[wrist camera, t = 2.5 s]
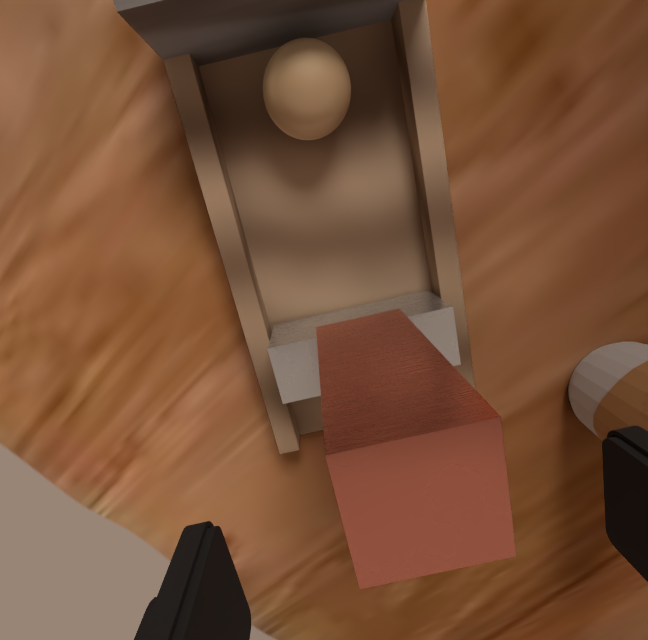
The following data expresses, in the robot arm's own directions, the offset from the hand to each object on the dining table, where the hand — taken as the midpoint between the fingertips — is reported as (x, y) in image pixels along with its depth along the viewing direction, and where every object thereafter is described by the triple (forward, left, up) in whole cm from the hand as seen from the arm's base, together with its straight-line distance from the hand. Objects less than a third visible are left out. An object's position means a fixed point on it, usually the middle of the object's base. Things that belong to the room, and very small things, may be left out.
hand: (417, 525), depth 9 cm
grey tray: (-6, 0, -16) cm, 17 cm away
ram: (0, 0, -14) cm, 14 cm away
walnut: (-13, 0, -14) cm, 19 cm away
